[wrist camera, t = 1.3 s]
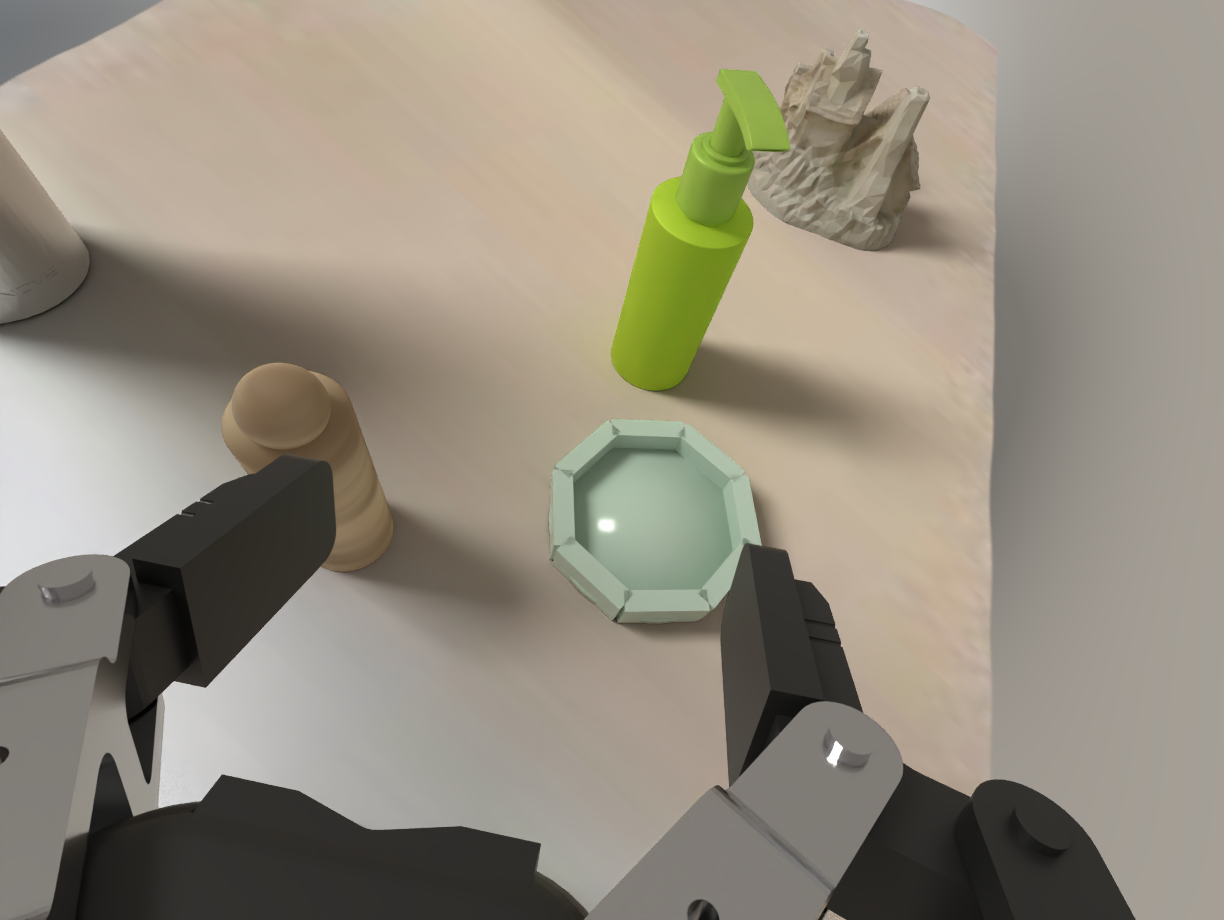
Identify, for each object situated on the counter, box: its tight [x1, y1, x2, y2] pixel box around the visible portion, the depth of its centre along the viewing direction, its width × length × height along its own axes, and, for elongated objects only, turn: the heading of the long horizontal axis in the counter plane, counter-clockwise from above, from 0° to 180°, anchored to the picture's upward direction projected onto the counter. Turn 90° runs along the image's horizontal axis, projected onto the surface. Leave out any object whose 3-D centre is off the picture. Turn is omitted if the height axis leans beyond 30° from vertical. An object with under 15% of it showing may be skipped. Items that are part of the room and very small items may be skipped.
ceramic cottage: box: [748, 29, 930, 251], centre depth 54 cm, size 16×16×15 cm
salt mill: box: [222, 363, 394, 572], centre depth 28 cm, size 5×5×14 cm
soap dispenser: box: [611, 69, 790, 391], centre depth 36 cm, size 6×7×20 cm
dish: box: [548, 419, 762, 624], centre depth 37 cm, size 13×13×2 cm
